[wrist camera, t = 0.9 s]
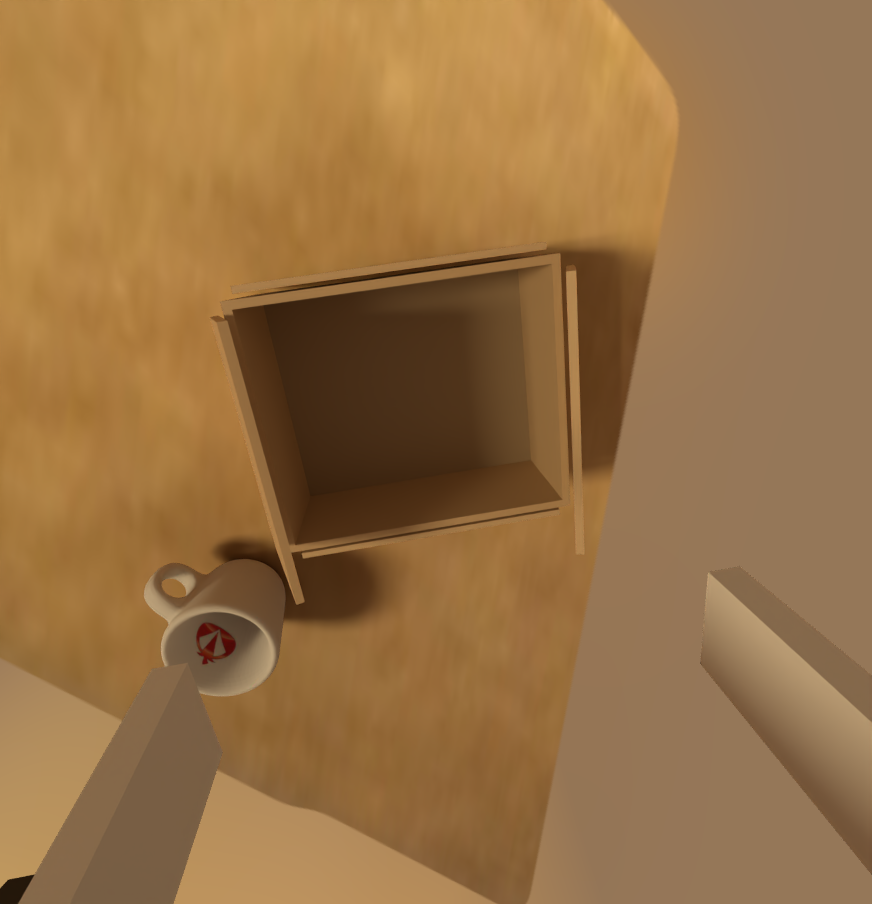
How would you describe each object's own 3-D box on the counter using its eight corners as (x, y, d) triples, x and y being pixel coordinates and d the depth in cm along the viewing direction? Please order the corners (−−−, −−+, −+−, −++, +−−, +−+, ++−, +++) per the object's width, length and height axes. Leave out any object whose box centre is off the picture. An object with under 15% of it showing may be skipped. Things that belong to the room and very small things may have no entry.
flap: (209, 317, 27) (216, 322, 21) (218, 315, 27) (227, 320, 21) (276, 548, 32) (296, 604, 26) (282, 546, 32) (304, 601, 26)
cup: (149, 576, 41) (97, 645, 33) (203, 509, 39) (162, 564, 32) (260, 639, 44) (235, 714, 37) (314, 579, 43) (301, 644, 35)
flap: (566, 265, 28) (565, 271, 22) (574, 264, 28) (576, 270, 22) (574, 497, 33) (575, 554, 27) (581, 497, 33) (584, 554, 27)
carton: (252, 284, 34) (216, 288, 27) (521, 246, 35) (559, 239, 28) (308, 507, 40) (292, 562, 33) (535, 470, 41) (570, 514, 34)
